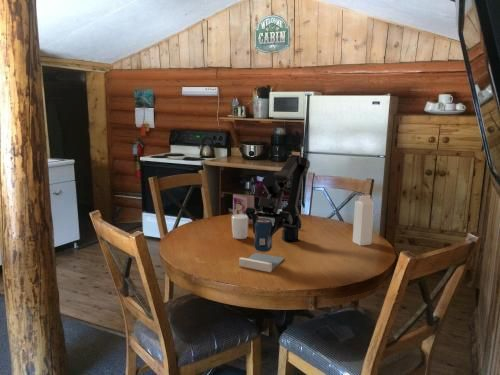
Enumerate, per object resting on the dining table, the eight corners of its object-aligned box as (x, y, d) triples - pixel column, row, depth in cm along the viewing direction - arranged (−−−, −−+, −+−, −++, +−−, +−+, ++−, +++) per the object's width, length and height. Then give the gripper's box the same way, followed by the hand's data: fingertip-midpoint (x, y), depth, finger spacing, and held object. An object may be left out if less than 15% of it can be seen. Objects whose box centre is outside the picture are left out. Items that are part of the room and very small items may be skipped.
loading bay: (255, 254, 172) (255, 247, 172) (284, 259, 167) (284, 252, 166) (239, 266, 159) (239, 258, 159) (270, 272, 154) (270, 264, 153)
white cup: (249, 234, 198) (249, 214, 196) (247, 240, 190) (247, 219, 188) (232, 234, 199) (232, 213, 197) (230, 239, 191) (230, 218, 189)
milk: (352, 241, 189) (354, 194, 185) (363, 240, 192) (366, 193, 187) (360, 245, 184) (363, 197, 180) (371, 244, 186) (374, 196, 182)
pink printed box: (231, 222, 219) (231, 194, 216) (242, 219, 224) (242, 192, 221) (245, 227, 210) (245, 198, 207) (256, 224, 215) (256, 196, 212)
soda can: (255, 245, 167) (256, 217, 164) (272, 247, 166) (273, 218, 163) (252, 251, 160) (253, 222, 158) (270, 253, 159) (271, 223, 157)
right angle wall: (260, 225, 215) (260, 211, 214) (280, 223, 220) (280, 209, 219) (271, 232, 205) (271, 217, 203) (292, 229, 210) (292, 214, 208)
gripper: (246, 187, 166) (233, 220, 158) (290, 191, 158) (279, 227, 150) (255, 202, 174) (243, 234, 167) (297, 207, 166) (286, 241, 159)
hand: (262, 234), depth 160 cm, fingers closed on soda can, 7 cm apart
